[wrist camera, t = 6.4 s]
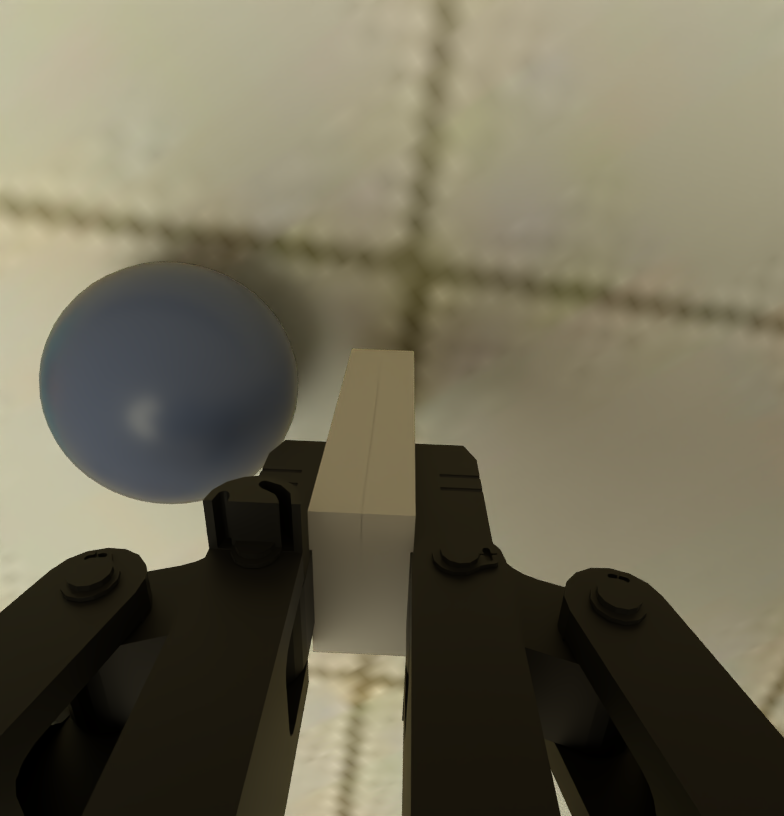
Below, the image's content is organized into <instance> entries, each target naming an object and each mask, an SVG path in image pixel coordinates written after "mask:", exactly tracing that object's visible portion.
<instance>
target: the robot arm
mask: <svg viewBox="0 0 784 816" xmlns="http://www.w3.org/2000/svg"><path fill="white" fill-rule="evenodd" d="M203 506H204V513H205V520H206V528H207V535H208V543H209V550H208V552H207V555H206V557H205V558H203V559H201V560H199V561H196V562H193V563H189V564H185V565H181V566H176V567H171V568H165V569H160V570H154V571H148V572H147V567H146V564H145V563H144V561H143V560H142V559H141V557H140V556H139V555H138V554H135V553H133V552H131V551H129V550H126V549H116V548H105V549H99V550H93V551H87V552H85V553H82V554H80V555H77V556H74V557H72V558H69V559H67V560H65V561H64V562H62V563H61V564H59V565H58V566H56V567H55V568H53V569H52V570H50V571H49V572H48V573H47V574H45V575H44V576H43V577H42V578H41V579H39V580H38V581H37V582H36V583H35V584H34V585H32V586H31V587H30V588H29V589H28V590H26V591H25V592H24V593H23V594H22V595H20V596H19V597H18V598H17V599H16V600H15V601H13V602H12V603H11V604H10V605H9V606H7V607H6V608H5V609H4V610H3V611H2V612H0V816H284V814H285V809H286V804H287V798H288V793H289V787H290V782H291V776H292V771H293V765H294V760H295V754H296V749H297V744H298V738H299V733H300V727H301V722H302V716H303V711H304V705H305V700H306V694H307V689H308V683H309V678H308V654H309V649H310V644H311V639H312V635H313V652H331V653H352V654H373V655H393V656H406V665H405V682H404V699H403V716H402V721H404V731H403V790H402V816H561V815H560V810H559V806H558V801H557V796H556V792H555V787H554V782H553V778H552V773H553V775H554V777H555V779H556V782H557V784H558V786H559V788H560V790H561V793H562V795H563V797H564V799H565V801H566V804H567V806H568V808H569V810H570V813H571V815H572V816H784V738H783V737H782V735H781V734H780V733H779V732H778V731H777V730H776V728H775V727H774V726H773V725H772V724H771V723H770V721H769V720H768V719H767V718H766V717H765V716H764V714H763V713H762V712H761V711H760V710H759V708H758V707H757V706H756V705H755V704H754V703H753V701H752V700H751V699H750V698H749V697H748V696H747V694H746V693H745V692H744V691H743V690H742V689H741V687H740V686H739V685H738V684H737V683H736V682H735V680H734V679H733V678H732V677H731V676H730V675H729V673H728V672H727V671H726V670H725V669H724V668H723V666H722V665H721V664H720V663H719V662H718V661H717V659H716V658H715V657H714V656H713V655H712V654H711V652H710V651H709V650H708V649H707V648H706V647H705V645H704V644H703V643H702V642H701V641H700V640H699V638H698V637H697V636H696V635H695V634H694V633H693V631H692V630H691V629H690V628H689V627H688V626H687V624H686V623H685V622H684V621H683V620H682V618H681V617H680V616H679V615H678V614H677V613H676V611H675V610H674V609H673V608H672V607H671V606H670V604H669V603H668V602H667V601H666V600H665V599H664V597H663V596H662V595H660V594H659V593H658V592H657V591H656V590H655V589H654V588H652V587H651V586H650V585H649V584H648V583H646V582H644V581H642V580H640V579H638V578H637V577H635V576H633V575H631V574H629V573H625V572H621V571H617V570H614V569H610V568H589V569H586V570H583V571H580V572H576V573H575V574H574V575H573V576H572V577H571V578H570V579H569V580H568V581H567V582H566V586H565V587H562V586H558V585H555V584H551V583H548V582H544V581H541V580H537V579H535V578H532V577H529V576H527V575H524V574H522V573H521V572H519V571H517V570H515V569H513V568H512V567H511V566H509V565H508V564H507V563H506V560H505V558H504V556H503V554H502V552H501V550H500V549H499V548H498V547H497V546H496V545H494V544H493V542H492V537H491V532H490V527H489V522H488V517H487V511H486V506H485V501H484V496H483V492H482V486H481V481H480V479H479V470H478V465H477V460H476V459H475V458H474V457H473V456H472V455H471V454H470V453H469V451H468V450H467V449H466V448H465V447H464V446H455V445H431V444H415V403H414V351H400V350H376V349H352V350H351V354H350V358H349V361H348V365H347V369H346V372H345V376H344V380H343V383H342V387H341V391H340V394H339V398H338V402H337V405H336V409H335V412H334V416H333V420H332V423H331V427H330V431H329V434H328V438H327V442H318V441H295V440H285V441H284V442H282V443H281V444H280V445H279V446H277V447H276V448H275V449H274V450H272V451H271V452H270V453H269V455H268V457H267V459H266V461H265V464H264V466H263V470H262V471H261V473H260V475H259V476H248V477H242V478H238V479H235V480H231V481H227V482H225V483H223V484H222V485H220V486H218V487H216V488H214V489H213V490H212V491H211V492H210V493H209V494H208V495H207V496H206V497H205V498H204V499H203ZM551 771H552V773H551Z"/></svg>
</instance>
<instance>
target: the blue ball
mask: <svg viewBox="0 0 784 816" xmlns="http://www.w3.org/2000/svg"><path fill="white" fill-rule="evenodd" d="M39 385H40V399H41V404H42V409H43V413H44V416H45V418H46V421H47V424H48V426H49V428H50V430H51V432H52V434H53V436H54V438H55V440H56V442H57V444H58V445H59V447H60V448H61V449H62V451H63V452H64V454H65V455H66V456H67V457H68V458H69V459H70V461H71V462H72V463H73V464H74V465H75V466H76V467H77V468H78V469H79V470H81V471H82V472H83V473H84V474H85V475H87V476H88V477H89V478H91V479H92V480H94V481H95V482H97V483H98V484H100V485H102V486H104V487H105V488H107V489H109V490H111V491H113V492H116V493H118V494H121V495H123V496H126V497H129V498H133V499H136V500H140V501H145V502H152V503H160V504H182V503H191V502H197V501H202V500H203V499H204V498H205V497H206V496H207V495H208V494H209V493H210V492H211V491H212V490H213V489H214V488H216V487H218V486H220V485H222V484H223V483H225V482H227V481H231V480H235V479H238V478H242V477H248V476H254V475H255V474H256V473H257V472H258V471H259V470H260V469H261V468H262V467H263V466H264V464H265V461H266V459H267V457H268V455H269V453H270V452H271V451H272V450H274V449H275V448H276V447H277V446H279V445H280V444H281V443H282V442H283V440H284V439H285V436H286V434H287V432H288V430H289V427H290V425H291V423H292V420H293V416H294V413H295V409H296V403H297V395H298V373H297V366H296V360H295V357H294V354H293V350H292V347H291V344H290V341H289V339H288V337H287V335H286V333H285V330H284V328H283V327H282V325H281V324H280V322H279V320H278V319H277V317H276V316H275V315H274V313H273V312H272V311H271V310H270V309H269V307H268V306H267V305H266V304H265V303H264V302H263V301H262V300H261V299H260V298H259V297H258V296H257V295H256V294H255V293H253V292H252V291H250V290H249V289H248V288H246V287H245V286H244V285H242V284H241V283H239V282H237V281H236V280H234V279H232V278H230V277H228V276H227V275H224V274H222V273H219V272H217V271H215V270H212V269H209V268H205V267H201V266H198V265H194V264H187V263H180V262H153V263H143V264H139V265H135V266H131V267H127V268H124V269H122V270H119V271H117V272H114V273H112V274H109V275H107V276H105V277H103V278H101V279H100V280H98V281H96V282H94V283H93V284H91V285H90V286H89V287H87V288H86V289H85V290H83V291H82V292H81V293H80V294H78V296H77V297H76V298H75V299H74V300H73V301H72V302H71V303H70V304H69V305H68V306H67V307H66V308H65V309H64V310H63V312H62V313H61V315H60V316H59V318H58V319H57V321H56V322H55V324H54V326H53V328H52V330H51V332H50V334H49V336H48V339H47V341H46V344H45V347H44V350H43V354H42V358H41V363H40V372H39Z"/></svg>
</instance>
